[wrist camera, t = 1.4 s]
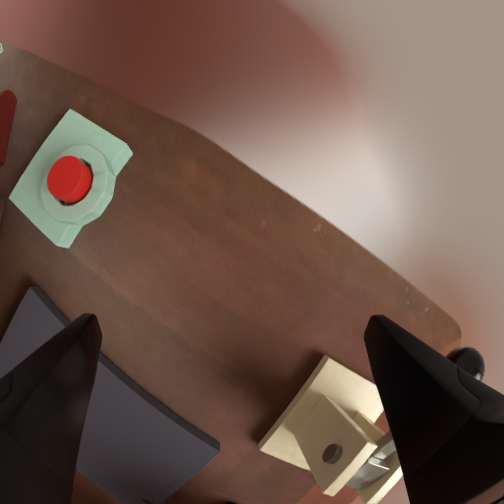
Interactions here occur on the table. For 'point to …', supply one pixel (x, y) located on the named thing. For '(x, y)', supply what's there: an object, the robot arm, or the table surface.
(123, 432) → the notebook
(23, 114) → the table surface
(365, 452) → the bracket
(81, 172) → the button
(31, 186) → the control box
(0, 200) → the letter holder
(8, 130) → the teeth
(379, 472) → the lever
